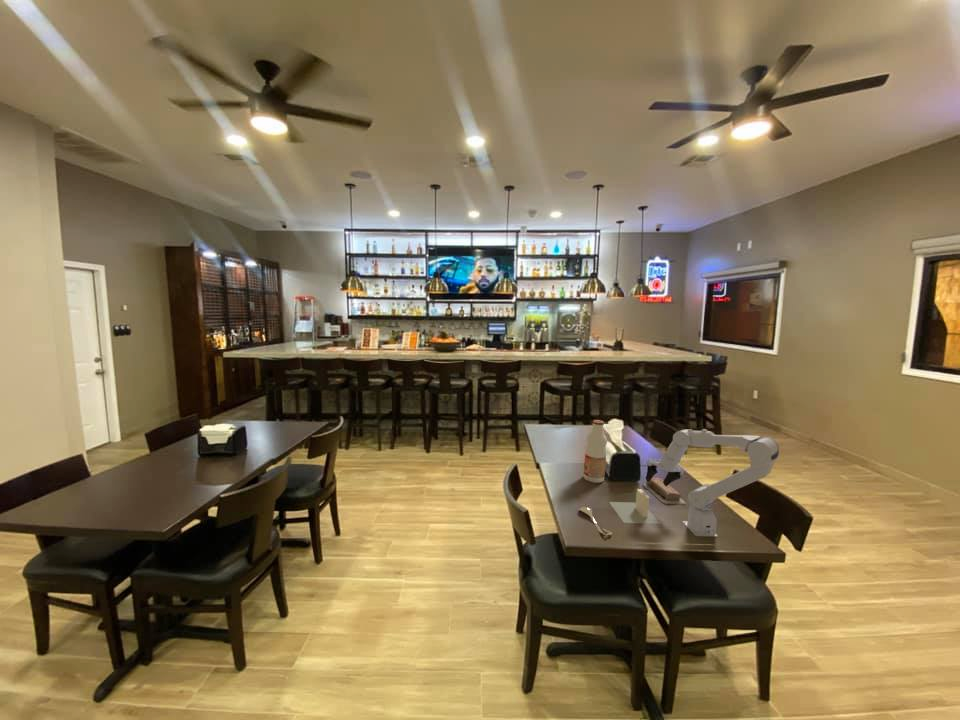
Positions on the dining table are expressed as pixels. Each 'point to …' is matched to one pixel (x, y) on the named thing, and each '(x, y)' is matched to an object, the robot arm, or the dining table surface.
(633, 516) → the mat
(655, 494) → the packaged product
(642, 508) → the deck
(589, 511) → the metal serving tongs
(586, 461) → the fruit juice
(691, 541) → the dining table surface
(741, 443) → the robot arm
